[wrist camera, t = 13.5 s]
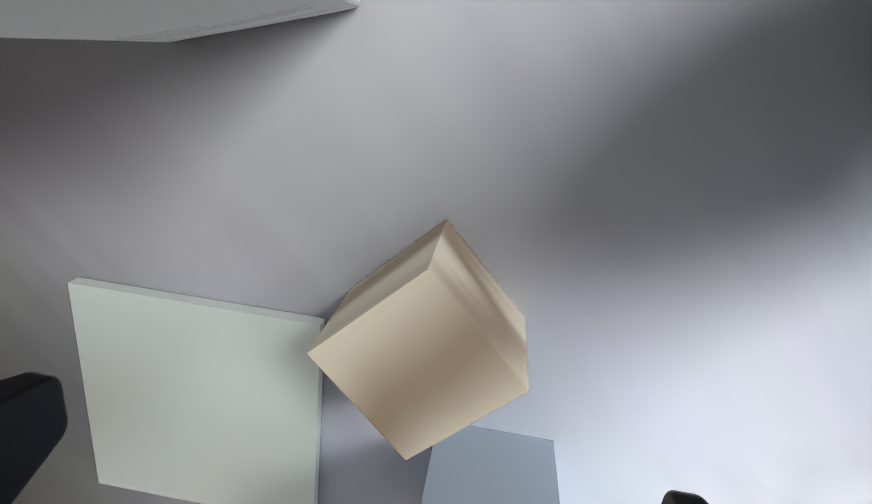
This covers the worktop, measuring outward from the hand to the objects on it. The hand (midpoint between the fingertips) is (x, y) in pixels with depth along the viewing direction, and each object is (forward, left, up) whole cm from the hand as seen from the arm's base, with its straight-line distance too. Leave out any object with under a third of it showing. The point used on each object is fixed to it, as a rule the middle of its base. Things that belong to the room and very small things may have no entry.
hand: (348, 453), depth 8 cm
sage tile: (+10, +11, -13) cm, 20 cm away
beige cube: (0, +4, -13) cm, 14 cm away
